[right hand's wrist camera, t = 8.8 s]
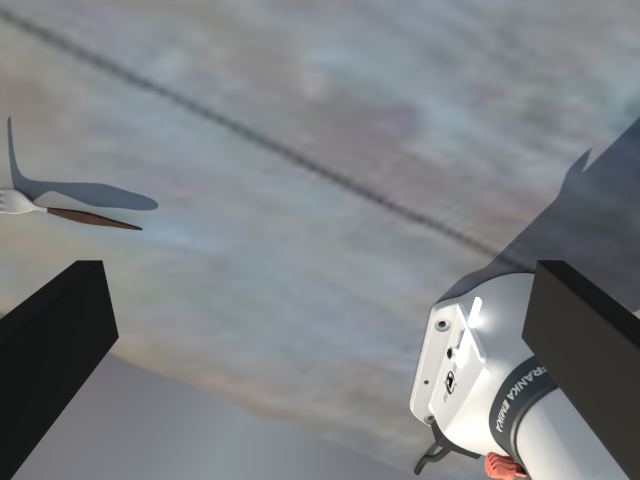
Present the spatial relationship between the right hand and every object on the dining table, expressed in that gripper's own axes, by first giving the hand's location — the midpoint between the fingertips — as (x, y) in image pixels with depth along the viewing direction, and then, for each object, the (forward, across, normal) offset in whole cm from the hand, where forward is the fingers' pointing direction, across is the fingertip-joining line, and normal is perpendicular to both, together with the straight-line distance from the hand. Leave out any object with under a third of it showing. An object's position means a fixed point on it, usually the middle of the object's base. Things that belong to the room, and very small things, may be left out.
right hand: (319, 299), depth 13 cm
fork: (+28, -25, -6) cm, 38 cm away
